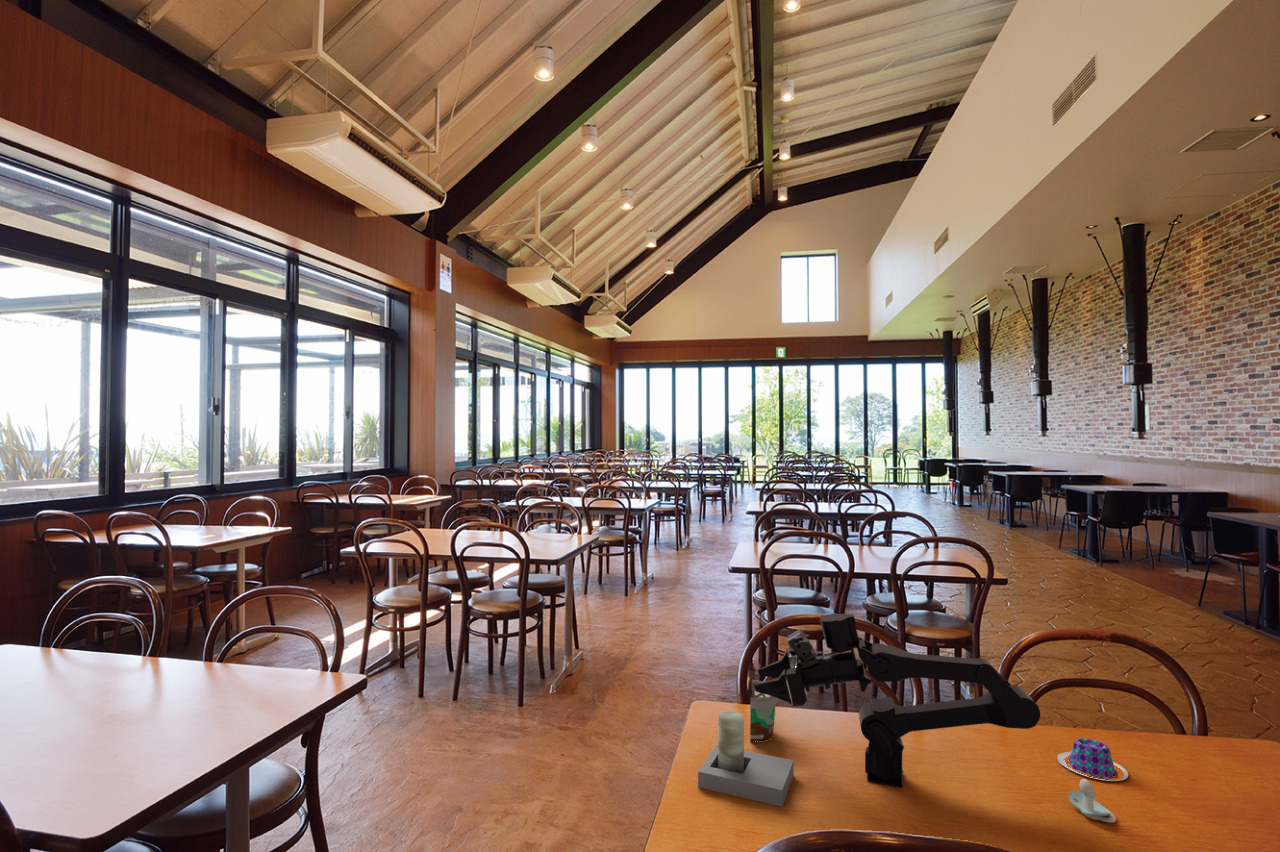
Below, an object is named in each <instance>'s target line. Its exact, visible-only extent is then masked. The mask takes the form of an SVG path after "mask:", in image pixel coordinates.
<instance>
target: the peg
mask: <svg viewBox="0 0 1280 852" xmlns="http://www.w3.org/2000/svg"><path fill="white" fill-rule="evenodd" d="M717 724H718V727H717V728H718V733H717V734H718V735H717V736H718V737H717V738H718V739H717V740H718V741H717V743H718V744H717V745H718V769H723V770H727V771H732V772H736V773H741V774H743V773H744V751H745V747H744V746H745V717H744V715H743V714H742V713H739V712H737V711H733V710H732V711H731V710H729V711H722V712H720V713H718V723H717Z"/></svg>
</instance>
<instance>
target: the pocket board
mask: <svg viewBox="0 0 1280 852" xmlns="http://www.w3.org/2000/svg"><path fill="white" fill-rule="evenodd" d="M794 762H795V761H794V760H793V759H786V758H782V757H779V756H773V755H767V754H763V753H759V752H758V753H757V752H753V751H748V750H744V773H743V774H741V773H736V772H732V771H727V770H723V769H718V744H715V745H714V747H713V748H712V750H711V752H710V753H709V755H708V756H707V758H706V759H705V760H704V762H703V764H702V765H701V766H700V768H699V769H698V772H697V776H698V777H697V788H698V789H699V788H700V789H704V790H709V791H712V792H716V793H720V794H723V795H724V794H725V795H730V796H733V797H739V798H742V799H745V800H746V799H747V800H749V801H751V800H752V801H754V802H759V803H764V804H768V805H772V806H777V807H781V808H782V807H783V805H784V803H785V800H786V797H787V794H788V791H790V790H789V789H790V786H791V784H792V781H793V778H794V773H795V772H794V769H795V767H794V766H795V765H794Z"/></svg>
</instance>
